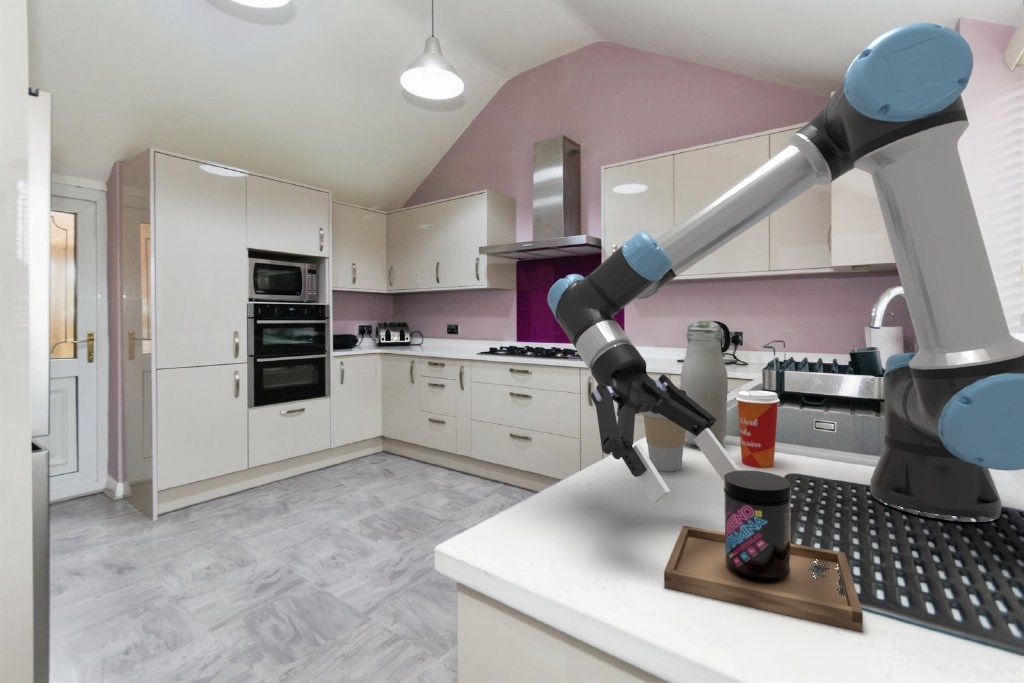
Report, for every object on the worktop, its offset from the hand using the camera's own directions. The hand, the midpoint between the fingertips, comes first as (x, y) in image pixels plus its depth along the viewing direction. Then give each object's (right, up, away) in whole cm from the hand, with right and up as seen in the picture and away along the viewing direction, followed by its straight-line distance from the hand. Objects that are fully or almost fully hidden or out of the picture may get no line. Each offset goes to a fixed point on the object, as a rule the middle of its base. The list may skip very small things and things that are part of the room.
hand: (698, 485), depth 62 cm
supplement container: (+4, -8, -6) cm, 11 cm away
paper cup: (+25, -6, +35) cm, 44 cm away
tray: (+4, -9, -6) cm, 11 cm away
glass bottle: (+20, -6, +49) cm, 54 cm away
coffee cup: (+7, -7, +35) cm, 36 cm away
